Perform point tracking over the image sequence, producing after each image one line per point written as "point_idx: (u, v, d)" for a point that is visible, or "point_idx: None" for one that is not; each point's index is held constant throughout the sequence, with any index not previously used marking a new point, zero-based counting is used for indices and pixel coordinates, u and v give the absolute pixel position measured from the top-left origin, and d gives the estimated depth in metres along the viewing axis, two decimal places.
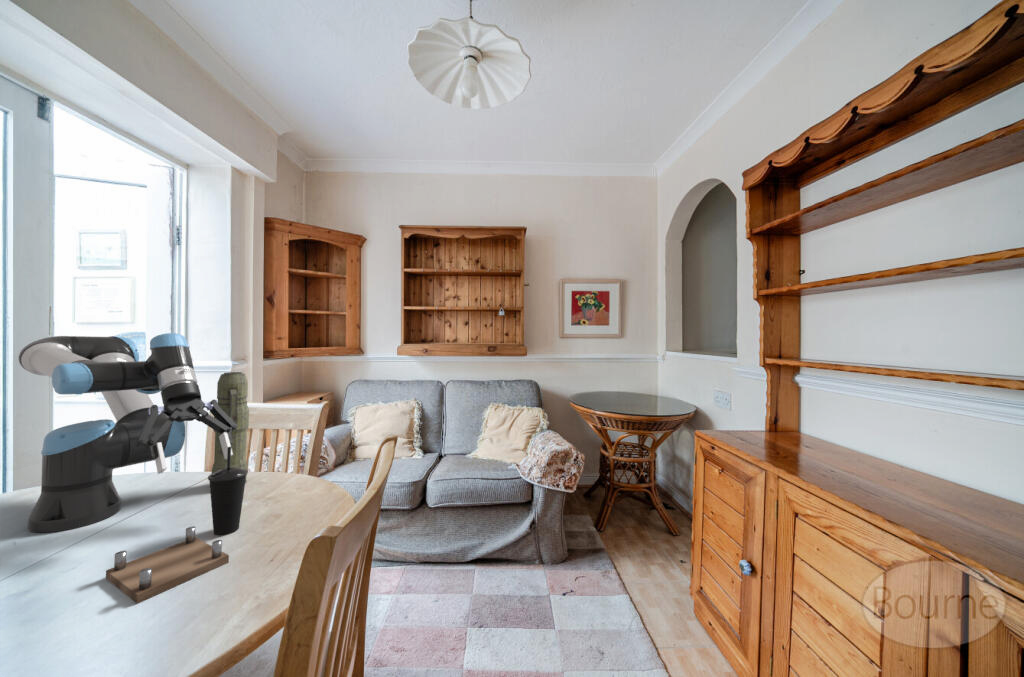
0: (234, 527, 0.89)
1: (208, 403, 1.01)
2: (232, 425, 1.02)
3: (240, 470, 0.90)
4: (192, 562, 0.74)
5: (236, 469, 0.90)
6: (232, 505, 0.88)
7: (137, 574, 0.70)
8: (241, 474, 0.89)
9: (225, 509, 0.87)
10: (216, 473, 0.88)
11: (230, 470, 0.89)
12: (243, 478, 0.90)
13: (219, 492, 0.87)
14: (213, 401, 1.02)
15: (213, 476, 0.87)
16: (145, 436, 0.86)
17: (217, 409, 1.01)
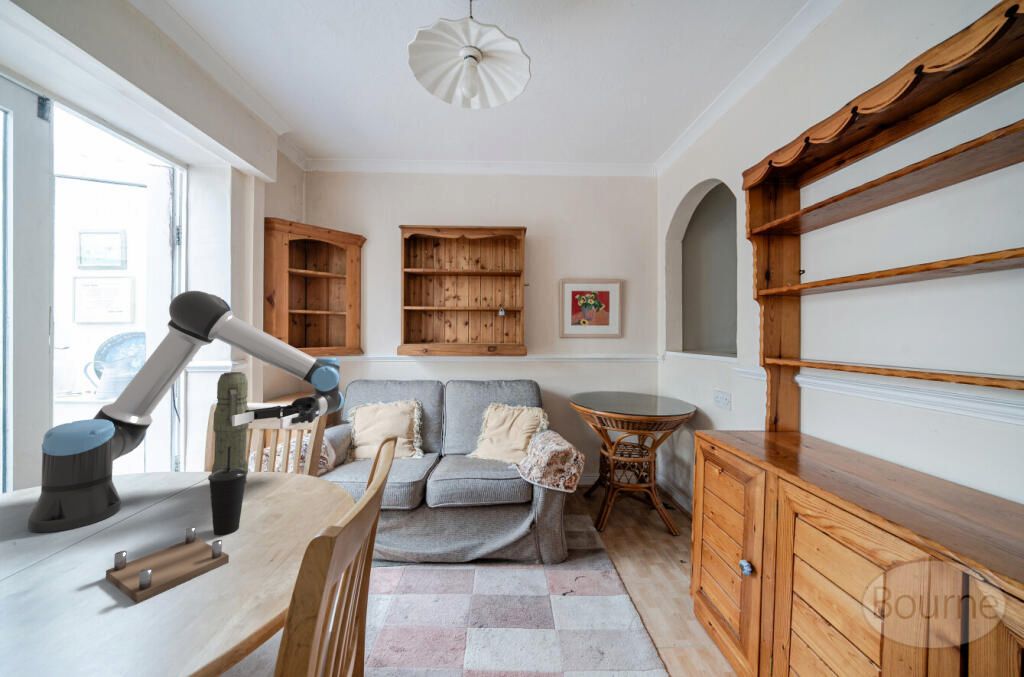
0: (234, 527, 0.89)
1: (281, 411, 1.15)
2: None
3: (240, 470, 0.90)
4: (192, 562, 0.74)
5: (236, 469, 0.90)
6: (232, 505, 0.88)
7: (137, 574, 0.70)
8: (241, 474, 0.89)
9: (225, 509, 0.87)
10: (216, 473, 0.88)
11: (230, 470, 0.89)
12: (243, 478, 0.90)
13: (219, 492, 0.87)
14: None
15: (213, 476, 0.87)
16: None
17: None
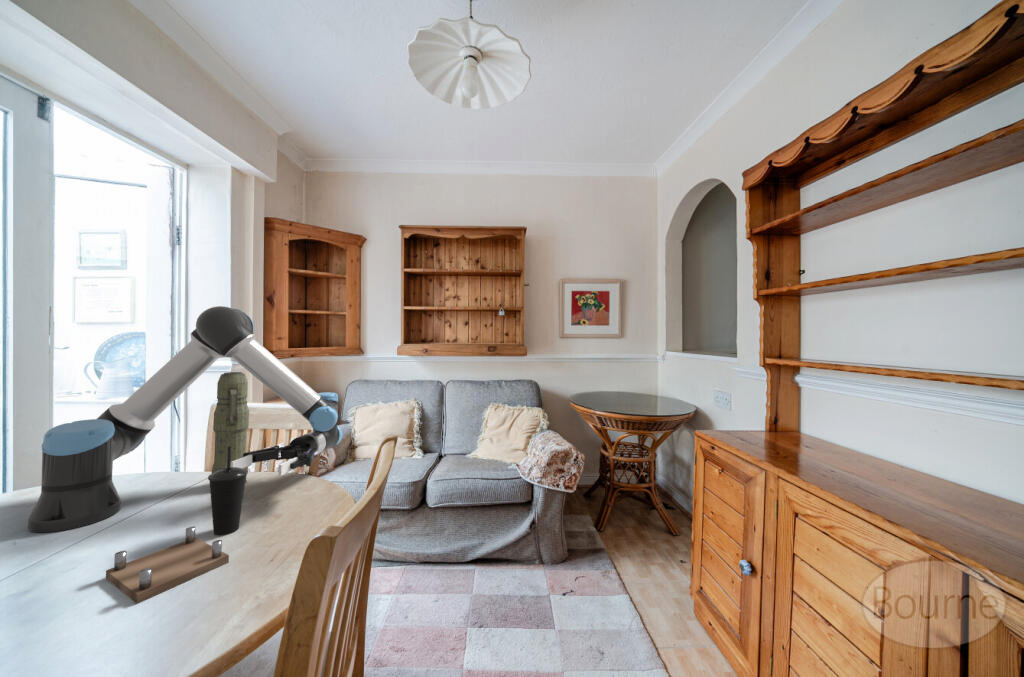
0: (234, 527, 0.89)
1: None
2: None
3: (240, 470, 0.90)
4: (192, 562, 0.74)
5: (236, 469, 0.90)
6: (232, 505, 0.88)
7: (137, 574, 0.70)
8: (241, 474, 0.89)
9: (225, 509, 0.87)
10: (216, 473, 0.88)
11: (230, 470, 0.89)
12: (243, 478, 0.90)
13: (219, 492, 0.87)
14: None
15: (213, 476, 0.87)
16: None
17: None
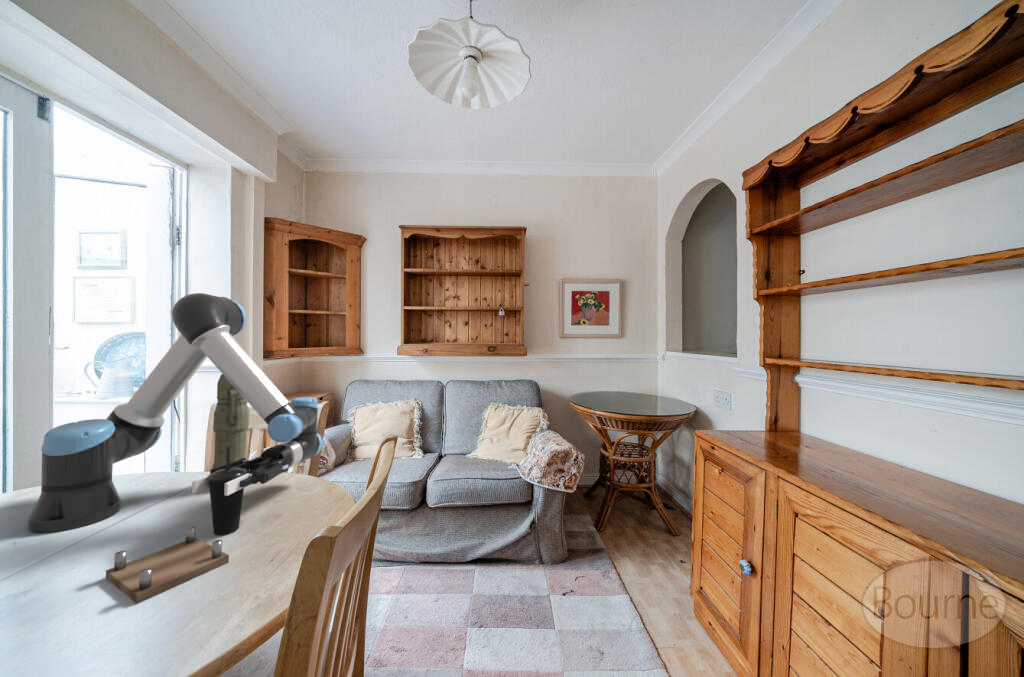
0: (235, 526, 0.89)
1: None
2: None
3: (239, 470, 0.90)
4: (192, 562, 0.74)
5: (235, 469, 0.90)
6: (232, 505, 0.88)
7: (137, 574, 0.70)
8: (240, 474, 0.89)
9: (224, 508, 0.87)
10: (215, 473, 0.88)
11: (229, 470, 0.89)
12: None
13: (219, 492, 0.87)
14: None
15: (212, 476, 0.87)
16: None
17: None
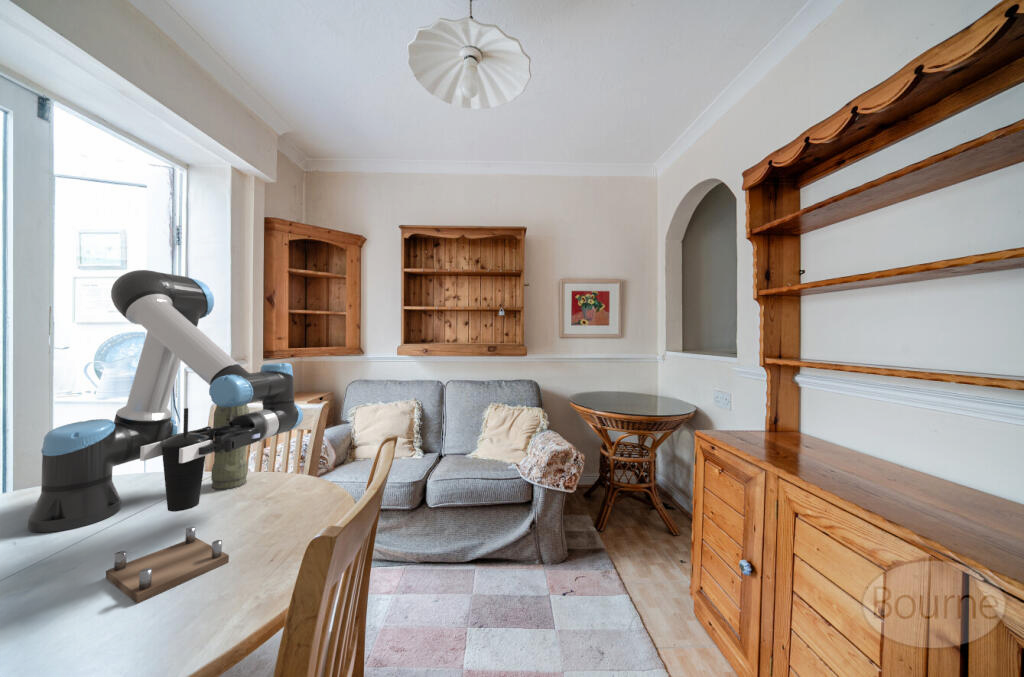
0: (193, 501, 0.76)
1: None
2: None
3: (199, 435, 0.77)
4: (192, 562, 0.74)
5: (195, 434, 0.77)
6: (190, 476, 0.75)
7: (137, 574, 0.70)
8: (200, 440, 0.76)
9: (180, 480, 0.74)
10: (170, 438, 0.75)
11: (187, 435, 0.76)
12: None
13: (173, 460, 0.73)
14: None
15: (166, 441, 0.74)
16: None
17: None
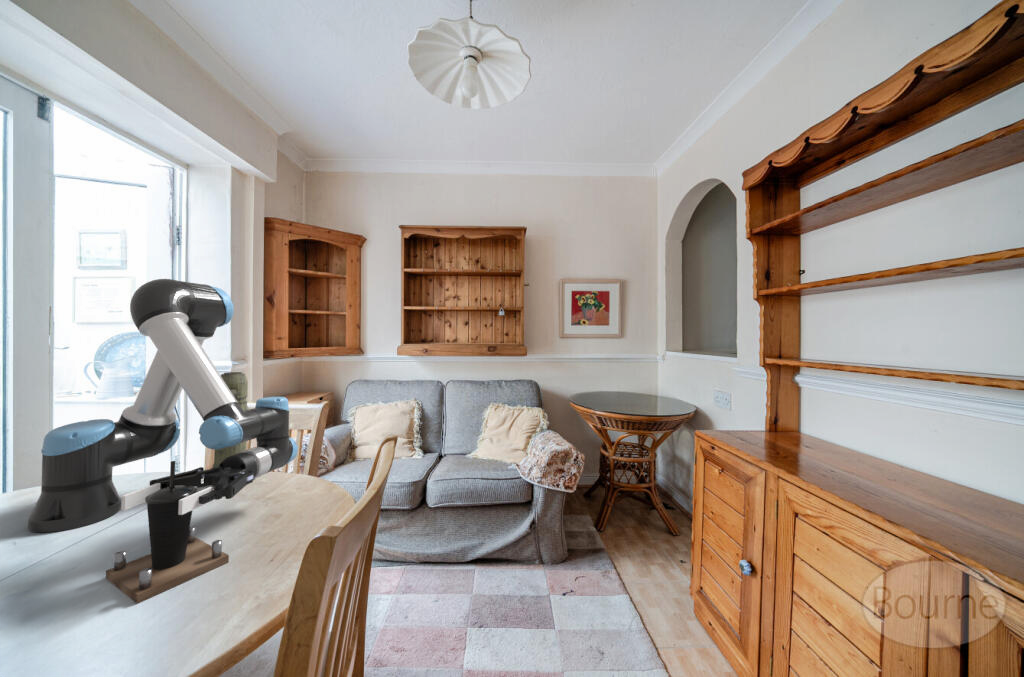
0: (179, 558, 0.74)
1: None
2: None
3: (186, 489, 0.75)
4: (192, 562, 0.74)
5: (181, 488, 0.75)
6: (175, 533, 0.73)
7: (137, 574, 0.70)
8: (187, 494, 0.74)
9: (165, 537, 0.72)
10: (155, 493, 0.72)
11: (173, 489, 0.74)
12: None
13: (158, 517, 0.71)
14: (200, 478, 0.87)
15: (151, 497, 0.72)
16: None
17: None
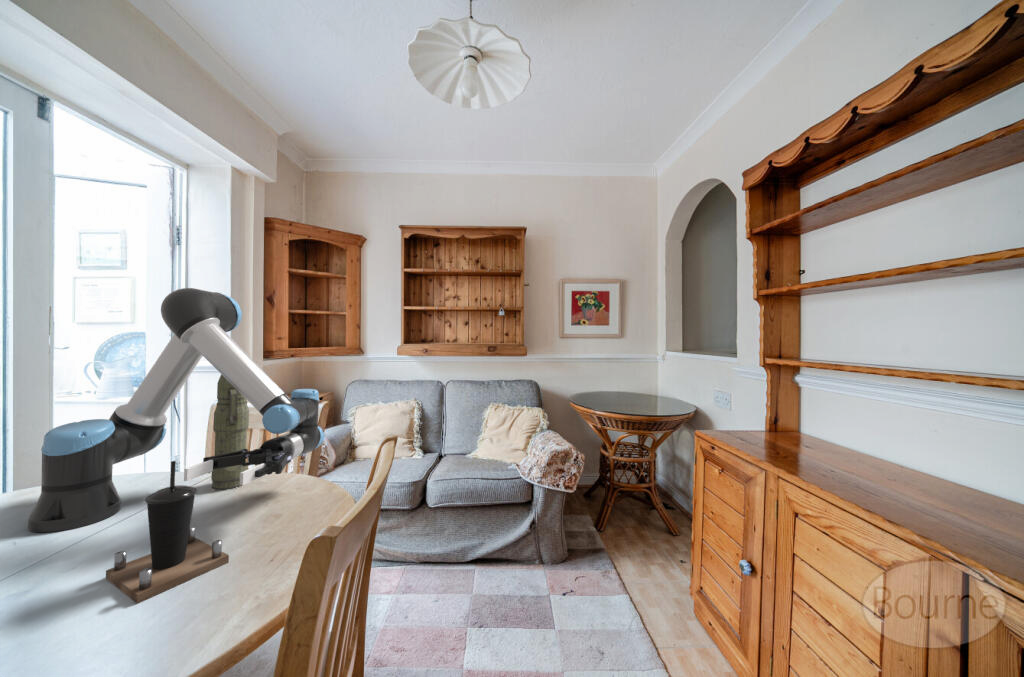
0: (179, 558, 0.74)
1: None
2: None
3: (186, 489, 0.75)
4: (192, 562, 0.74)
5: (182, 488, 0.75)
6: (175, 533, 0.73)
7: (137, 574, 0.70)
8: (187, 494, 0.74)
9: (165, 537, 0.72)
10: (156, 493, 0.72)
11: (173, 489, 0.74)
12: (190, 499, 0.75)
13: (158, 517, 0.71)
14: None
15: (151, 497, 0.72)
16: None
17: None
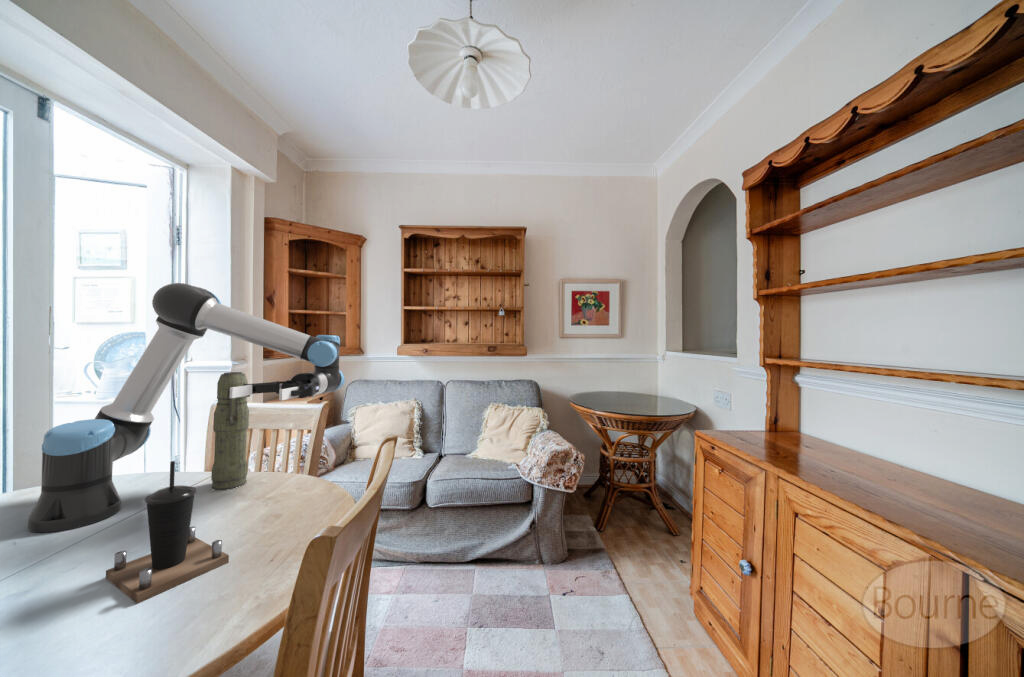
0: (179, 558, 0.74)
1: (280, 387, 1.12)
2: None
3: (186, 489, 0.75)
4: (192, 562, 0.74)
5: (181, 488, 0.75)
6: (175, 533, 0.73)
7: (137, 574, 0.70)
8: (187, 494, 0.74)
9: (165, 537, 0.72)
10: (155, 493, 0.72)
11: (173, 490, 0.74)
12: (190, 499, 0.75)
13: (158, 517, 0.71)
14: None
15: (151, 497, 0.72)
16: None
17: None
